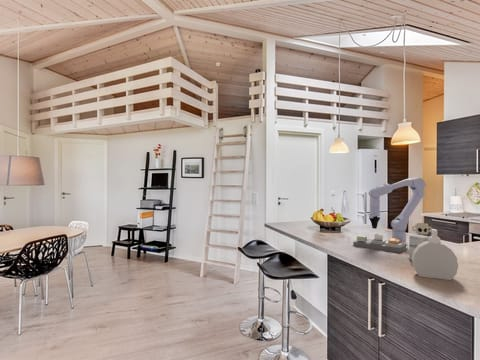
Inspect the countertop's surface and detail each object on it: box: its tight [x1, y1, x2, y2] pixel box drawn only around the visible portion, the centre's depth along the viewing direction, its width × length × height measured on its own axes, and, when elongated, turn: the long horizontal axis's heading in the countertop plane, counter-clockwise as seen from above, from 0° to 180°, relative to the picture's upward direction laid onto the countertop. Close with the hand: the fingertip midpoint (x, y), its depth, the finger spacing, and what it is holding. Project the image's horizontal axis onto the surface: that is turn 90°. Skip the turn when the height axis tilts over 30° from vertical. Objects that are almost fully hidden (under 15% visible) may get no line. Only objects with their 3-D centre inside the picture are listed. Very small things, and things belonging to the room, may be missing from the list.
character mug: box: [411, 222, 433, 236], centre depth 191 cm, size 11×7×13 cm, turn 69°
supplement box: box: [408, 233, 430, 261], centre depth 152 cm, size 7×7×13 cm
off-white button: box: [374, 233, 384, 240], centre depth 181 cm, size 4×4×3 cm
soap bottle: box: [411, 228, 459, 281], centre depth 127 cm, size 16×5×20 cm, turn 67°
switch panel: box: [352, 238, 407, 254], centre depth 181 cm, size 14×26×4 cm, turn 48°
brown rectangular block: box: [387, 237, 402, 244], centre depth 175 cm, size 10×5×3 cm, turn 138°
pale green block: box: [356, 234, 368, 242], centre depth 184 cm, size 3×5×3 cm, turn 48°
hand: (374, 228), depth 190 cm, fingers closed
